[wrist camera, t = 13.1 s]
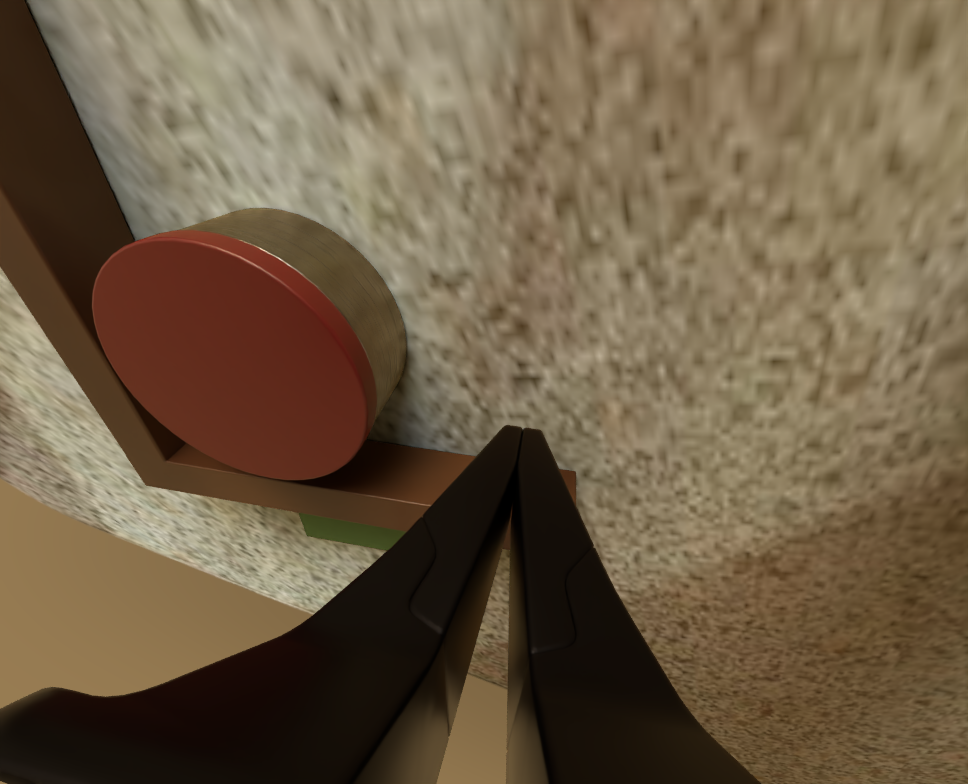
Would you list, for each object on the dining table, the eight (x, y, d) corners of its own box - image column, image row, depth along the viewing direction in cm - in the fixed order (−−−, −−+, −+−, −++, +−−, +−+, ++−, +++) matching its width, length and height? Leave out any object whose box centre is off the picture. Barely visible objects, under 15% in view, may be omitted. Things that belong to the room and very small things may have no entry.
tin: (395, 211, 10) (336, 249, 8) (418, 426, 14) (384, 496, 12) (149, 198, 11) (25, 228, 9) (236, 403, 15) (170, 463, 13)
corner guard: (756, -296, 6) (858, -519, 4) (568, 500, 15) (568, 561, 13) (-150, -228, 8) (-414, -347, 6) (194, 441, 17) (145, 486, 15)
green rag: (452, 497, 16) (449, 505, 16) (453, 554, 19) (451, 562, 18) (290, 470, 17) (285, 477, 17) (310, 528, 20) (306, 536, 19)
